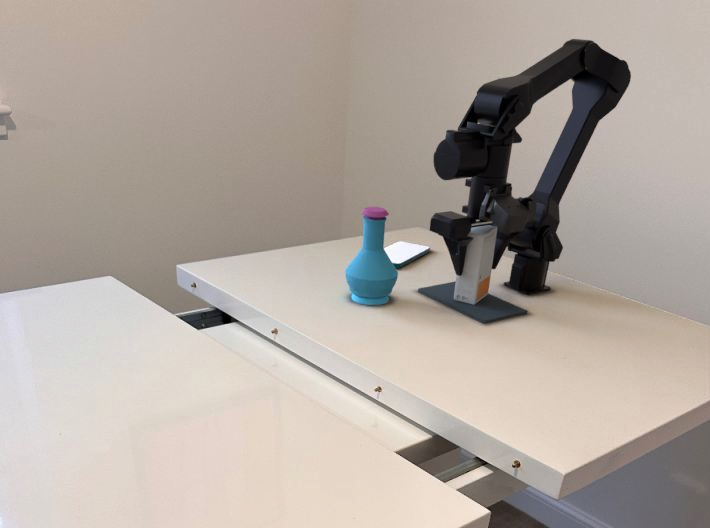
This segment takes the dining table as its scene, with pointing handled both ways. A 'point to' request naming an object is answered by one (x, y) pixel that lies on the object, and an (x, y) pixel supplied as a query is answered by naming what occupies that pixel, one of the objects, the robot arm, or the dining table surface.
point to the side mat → (481, 311)
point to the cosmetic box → (476, 265)
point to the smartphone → (405, 252)
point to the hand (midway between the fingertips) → (475, 271)
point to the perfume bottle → (372, 263)
